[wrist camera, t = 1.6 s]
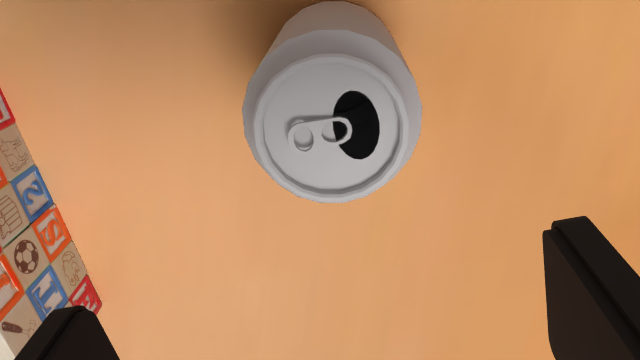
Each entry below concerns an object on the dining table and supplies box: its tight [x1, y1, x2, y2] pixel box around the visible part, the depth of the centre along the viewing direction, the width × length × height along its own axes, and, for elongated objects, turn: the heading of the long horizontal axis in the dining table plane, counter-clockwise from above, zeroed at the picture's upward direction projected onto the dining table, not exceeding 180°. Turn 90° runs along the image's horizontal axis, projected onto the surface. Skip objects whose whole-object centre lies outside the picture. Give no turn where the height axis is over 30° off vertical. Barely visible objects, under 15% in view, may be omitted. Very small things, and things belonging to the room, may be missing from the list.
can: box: [242, 1, 422, 203], centre depth 25 cm, size 8×8×12 cm
